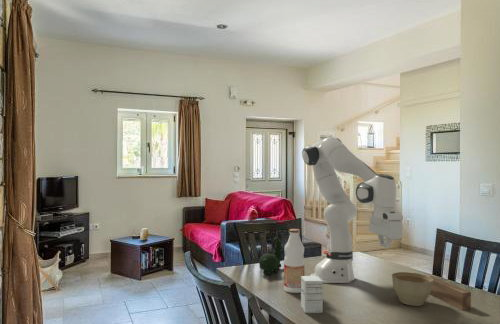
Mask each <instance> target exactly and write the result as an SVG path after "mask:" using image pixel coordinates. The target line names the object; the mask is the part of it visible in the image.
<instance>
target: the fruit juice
mask: <svg viewBox="0 0 500 324" xmlns="http://www.w3.org/2000/svg"><path fill="white" fill-rule="evenodd" d="M288 232H289V236H288V240H287V242H286V243H285V244H284V254H285V256H284V259H283V289H284V291H285V292H287V293H291V294H299V293H300V294H301V276H305V262H306V261H305V257H304V254H305V246H304V244H303V242H302V239H301V237H300V234H301V233H300V232H301V230H300V229H299V228H291V229H289V230H288Z"/></svg>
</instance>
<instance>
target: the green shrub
mask: <svg viewBox="0 0 500 324" xmlns="http://www.w3.org/2000/svg"><path fill="white" fill-rule="evenodd" d="M273 242H274V244H275V245H274V248H273V249H274V251H273V254H272V253H270V252H268V253H267V252H266V253H264V254H262V255H261V256H260V257H259V261H258V264H259V269H261V270H263V271H262V273H263V275H264V276H267V275H269V276H271V274H272V272H273V273H277V272H280V270H281V268H282V264H281V261H282V260H283V258H282V256H281V255H283V254H284V252H282V250H283V248H284V247H283V246H282V245H283V242H282V241H281V240H280V238H279V237H278V236H275V237H274V238H273Z"/></svg>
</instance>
